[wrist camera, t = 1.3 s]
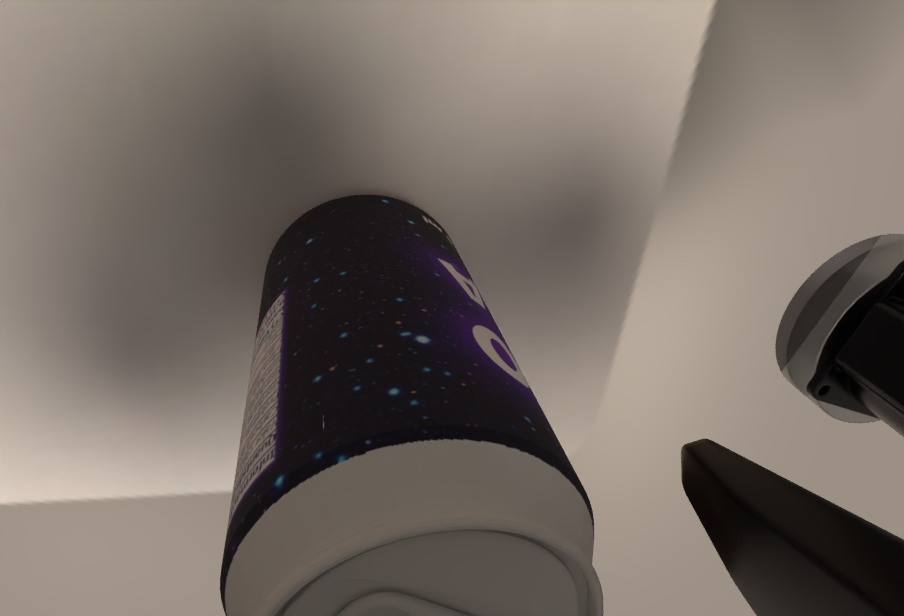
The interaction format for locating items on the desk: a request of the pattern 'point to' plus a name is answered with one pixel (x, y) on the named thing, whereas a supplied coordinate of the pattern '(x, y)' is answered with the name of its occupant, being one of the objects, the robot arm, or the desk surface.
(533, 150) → the desk surface
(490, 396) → the beverage can
